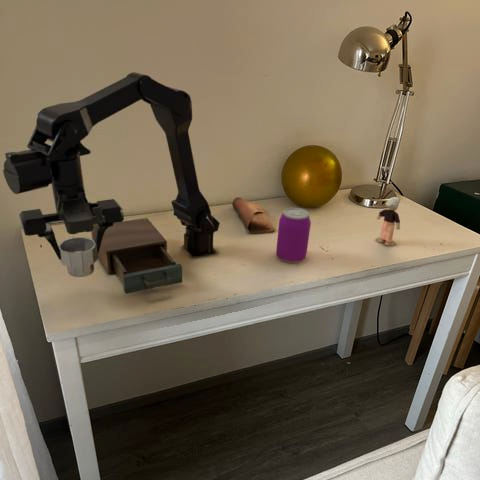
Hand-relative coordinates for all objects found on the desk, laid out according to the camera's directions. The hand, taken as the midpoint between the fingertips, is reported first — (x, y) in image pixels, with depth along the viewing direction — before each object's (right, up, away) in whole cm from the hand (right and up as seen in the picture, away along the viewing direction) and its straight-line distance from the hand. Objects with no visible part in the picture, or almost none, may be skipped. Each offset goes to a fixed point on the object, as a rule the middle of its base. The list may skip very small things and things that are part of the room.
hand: (78, 255), depth 103 cm
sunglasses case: (+37, +16, +43) cm, 59 cm away
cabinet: (+6, +3, +22) cm, 23 cm away
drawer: (+12, -4, +11) cm, 17 cm away
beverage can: (+46, +3, +25) cm, 52 cm away
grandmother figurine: (+73, +8, +35) cm, 81 cm away
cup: (0, -3, +2) cm, 4 cm away
